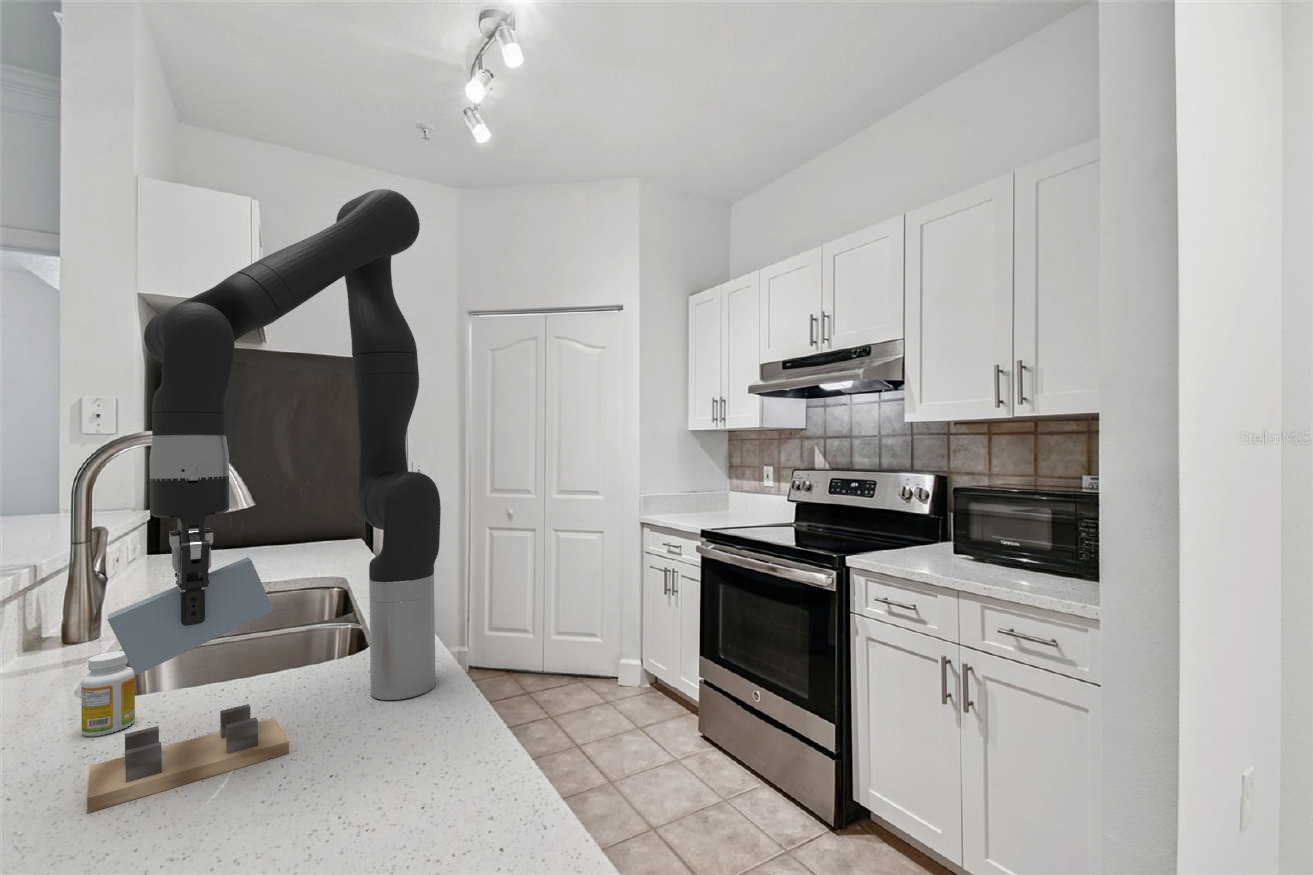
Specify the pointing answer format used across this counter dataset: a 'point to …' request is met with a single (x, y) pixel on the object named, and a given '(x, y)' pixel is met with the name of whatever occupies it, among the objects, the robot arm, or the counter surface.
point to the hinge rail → (183, 758)
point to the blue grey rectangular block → (160, 635)
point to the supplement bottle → (107, 695)
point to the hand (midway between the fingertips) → (191, 620)
